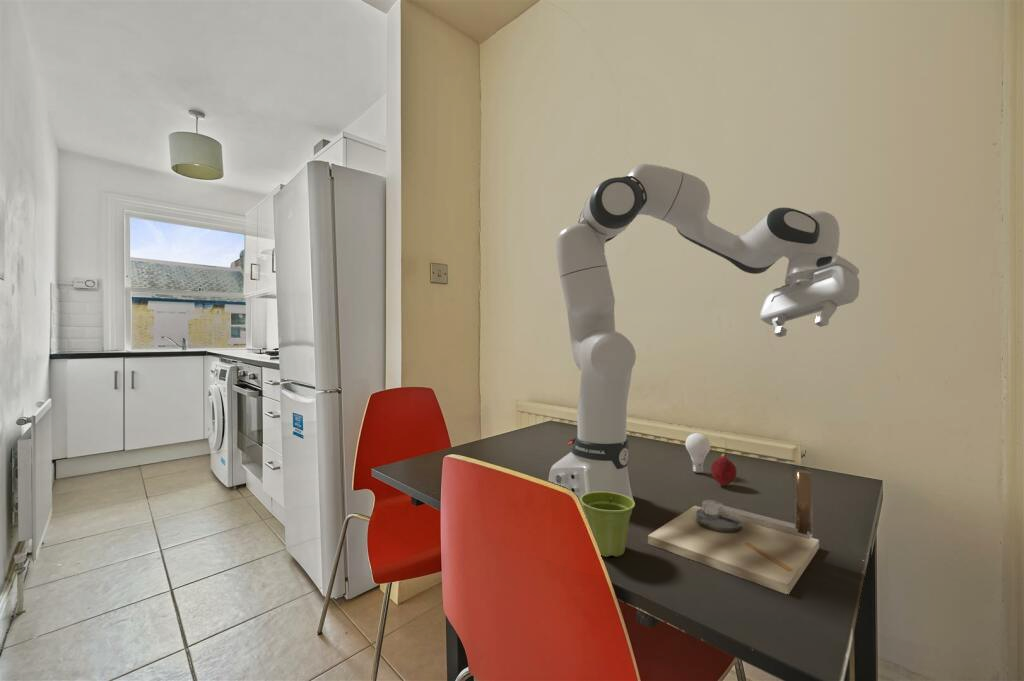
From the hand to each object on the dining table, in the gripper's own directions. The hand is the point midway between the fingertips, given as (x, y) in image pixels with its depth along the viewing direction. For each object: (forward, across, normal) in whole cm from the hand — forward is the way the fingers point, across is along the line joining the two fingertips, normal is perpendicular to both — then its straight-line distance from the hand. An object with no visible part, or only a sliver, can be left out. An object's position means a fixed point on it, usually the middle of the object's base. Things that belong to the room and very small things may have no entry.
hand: (799, 330), depth 92 cm
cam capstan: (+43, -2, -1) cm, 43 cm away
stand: (+46, -2, -4) cm, 47 cm away
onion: (+31, -27, +14) cm, 43 cm away
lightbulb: (+28, -37, +14) cm, 49 cm away
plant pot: (+56, -8, -24) cm, 61 cm away
